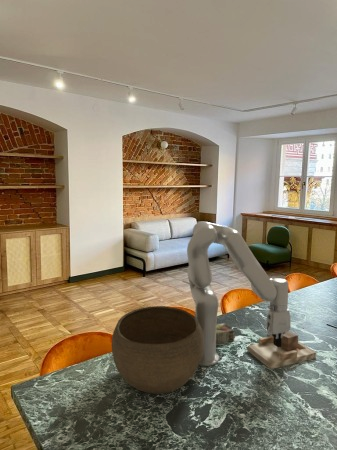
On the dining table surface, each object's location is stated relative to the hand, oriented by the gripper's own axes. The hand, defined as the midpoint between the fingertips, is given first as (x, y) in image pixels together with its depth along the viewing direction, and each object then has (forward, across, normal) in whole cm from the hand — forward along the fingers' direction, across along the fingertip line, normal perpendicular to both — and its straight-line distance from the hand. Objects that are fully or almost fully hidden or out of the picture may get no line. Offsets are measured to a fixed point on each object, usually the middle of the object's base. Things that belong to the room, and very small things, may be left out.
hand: (277, 345), depth 150 cm
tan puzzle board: (+5, +3, 0) cm, 6 cm away
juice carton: (+5, -19, +24) cm, 31 cm away
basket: (+4, -57, +2) cm, 57 cm away
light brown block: (+2, +6, 0) cm, 7 cm away
